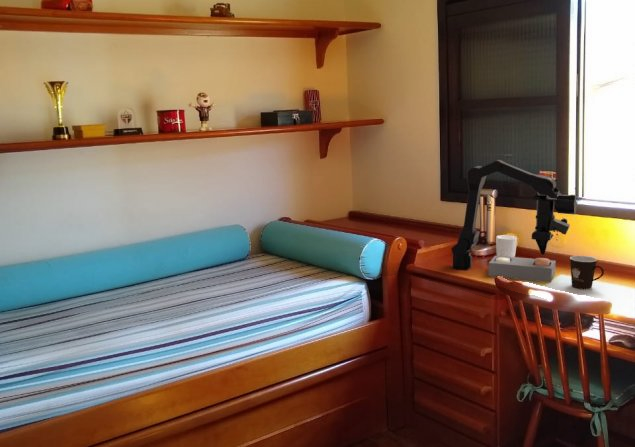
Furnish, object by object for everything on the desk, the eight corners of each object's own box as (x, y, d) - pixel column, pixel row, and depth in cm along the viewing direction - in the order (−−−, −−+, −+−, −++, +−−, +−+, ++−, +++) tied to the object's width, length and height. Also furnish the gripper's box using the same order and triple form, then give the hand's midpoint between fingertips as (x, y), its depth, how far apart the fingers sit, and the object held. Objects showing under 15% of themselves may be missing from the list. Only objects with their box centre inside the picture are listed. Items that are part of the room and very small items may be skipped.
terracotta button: (533, 272, 233) (534, 260, 232) (535, 268, 237) (536, 257, 236) (548, 273, 231) (548, 261, 230) (549, 270, 235) (550, 258, 234)
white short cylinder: (494, 271, 239) (494, 259, 238) (497, 268, 244) (497, 256, 243) (508, 272, 237) (508, 261, 236) (510, 269, 241) (511, 258, 241)
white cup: (515, 259, 260) (516, 235, 258) (516, 264, 253) (517, 239, 251) (495, 258, 262) (495, 234, 260) (495, 263, 254) (496, 238, 252)
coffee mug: (563, 283, 225) (565, 256, 223) (587, 282, 226) (589, 255, 224) (580, 293, 214) (581, 264, 212) (604, 292, 215) (606, 263, 213)
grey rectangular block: (488, 275, 237) (488, 262, 236) (494, 267, 248) (495, 255, 247) (551, 282, 227) (551, 268, 226) (554, 273, 238) (555, 260, 237)
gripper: (566, 218, 218) (564, 262, 221) (571, 209, 234) (569, 250, 237) (532, 216, 223) (530, 259, 226) (539, 207, 239) (537, 248, 242)
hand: (543, 254), depth 233 cm, fingers closed
